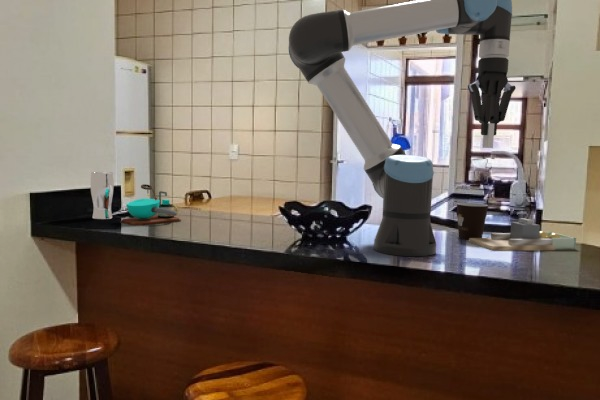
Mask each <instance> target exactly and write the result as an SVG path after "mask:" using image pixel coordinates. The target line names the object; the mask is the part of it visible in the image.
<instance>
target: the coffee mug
mask: <svg viewBox="0 0 600 400" xmlns="http://www.w3.org/2000/svg"><path fill="white" fill-rule="evenodd" d="M488 208H489V205H488V204H485V203H474V202H457V203H456V217H457V230H458V231H457V233H458V239H460V240H462V241H463V240H464V241H469V238H483V234H484V231H485V230H484V228H485V225H486V218H487V215H488V214H487V213H488Z"/></svg>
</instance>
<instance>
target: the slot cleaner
mask: <svg viewBox="0 0 600 400" xmlns="http://www.w3.org/2000/svg"><path fill="white" fill-rule="evenodd" d="M533 222H534V220H533V219H531V218H530V219H529V218H525V217H518V221H510V231H509V233H510V239H539V233H540V231H541V225H540V224H536V223H533Z"/></svg>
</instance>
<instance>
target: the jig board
mask: <svg viewBox="0 0 600 400" xmlns="http://www.w3.org/2000/svg"><path fill="white" fill-rule="evenodd" d="M468 243H470V244H473V245H475V246H476V245H477V246H478V247H480V248H481V247H482V248H484V249H488V250H490V251H555V250H556V249H555V246H554V245H552V244H553V239H510V232H504V233H503V232H497V233H496V232H494V233H493V232H492V233H490V237H482V238H469V240H468Z"/></svg>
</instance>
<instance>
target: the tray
mask: <svg viewBox="0 0 600 400" xmlns="http://www.w3.org/2000/svg"><path fill="white" fill-rule="evenodd" d="M545 232H546V233H547V234H548V237H549V235H550V234H552V233H555V232H553V231H545ZM556 233H557V232H556ZM557 234H559V235H560V237H561V238H551V239H553V244H552V245H554V246H555V250H576V246H577V237H572V236H569V235H565V234H561V233H557Z"/></svg>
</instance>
